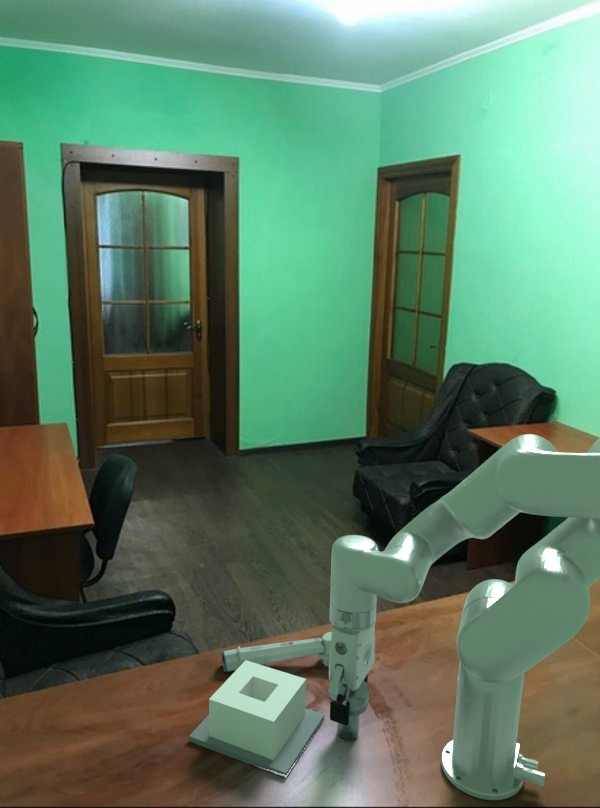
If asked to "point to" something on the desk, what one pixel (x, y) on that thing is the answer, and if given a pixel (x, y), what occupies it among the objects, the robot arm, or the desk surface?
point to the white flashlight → (278, 652)
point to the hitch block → (259, 718)
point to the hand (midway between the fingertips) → (348, 705)
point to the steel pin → (353, 711)
